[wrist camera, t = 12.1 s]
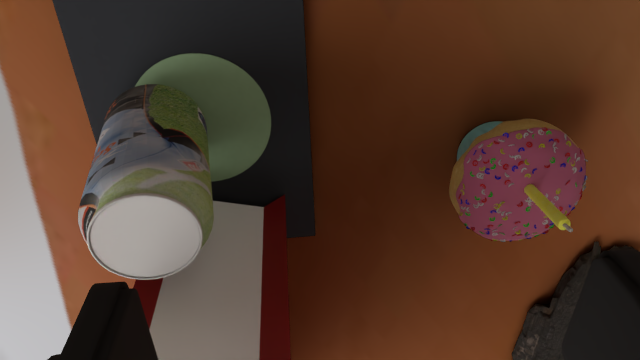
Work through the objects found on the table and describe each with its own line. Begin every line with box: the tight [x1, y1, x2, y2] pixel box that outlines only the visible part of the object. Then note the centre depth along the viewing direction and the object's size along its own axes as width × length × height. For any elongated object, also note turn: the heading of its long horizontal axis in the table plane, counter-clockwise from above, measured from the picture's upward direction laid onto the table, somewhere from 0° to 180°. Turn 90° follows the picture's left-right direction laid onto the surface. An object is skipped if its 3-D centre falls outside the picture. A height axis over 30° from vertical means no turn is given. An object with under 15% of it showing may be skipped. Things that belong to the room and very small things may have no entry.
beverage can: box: [78, 84, 214, 280], centre depth 26 cm, size 6×7×12 cm
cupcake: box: [449, 119, 588, 242], centre depth 30 cm, size 9×8×12 cm
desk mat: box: [53, 0, 315, 238], centre depth 32 cm, size 20×14×1 cm
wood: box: [512, 242, 639, 360], centre depth 45 cm, size 22×7×3 cm, turn 172°
